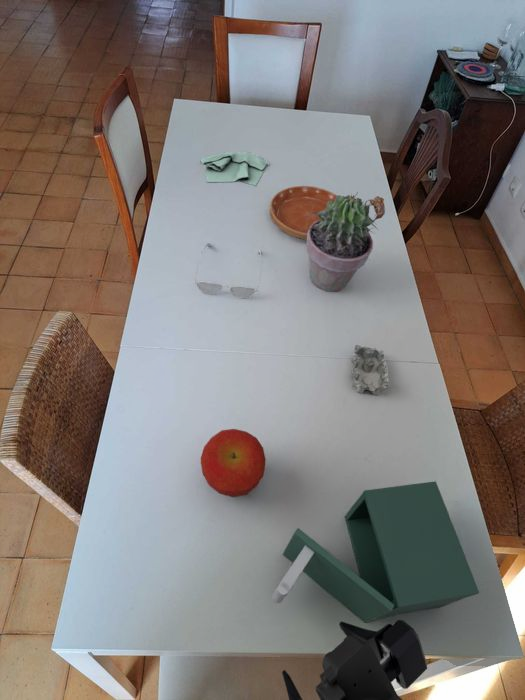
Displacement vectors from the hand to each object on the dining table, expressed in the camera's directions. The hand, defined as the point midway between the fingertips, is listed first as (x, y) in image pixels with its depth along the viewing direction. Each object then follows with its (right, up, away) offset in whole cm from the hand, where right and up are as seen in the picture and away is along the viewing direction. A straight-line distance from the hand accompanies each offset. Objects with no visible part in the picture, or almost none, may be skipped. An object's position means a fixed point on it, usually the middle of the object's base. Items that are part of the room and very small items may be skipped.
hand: (313, 648), depth 57 cm
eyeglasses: (-15, +57, +58) cm, 83 cm away
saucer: (+7, +75, +74) cm, 105 cm away
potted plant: (+10, +56, +59) cm, 82 cm away
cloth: (-16, +95, +85) cm, 128 cm away
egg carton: (+16, +32, +42) cm, 56 cm away
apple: (-12, +14, +25) cm, 31 cm away
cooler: (+15, +2, +19) cm, 25 cm away
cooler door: (+1, -2, +14) cm, 14 cm away
